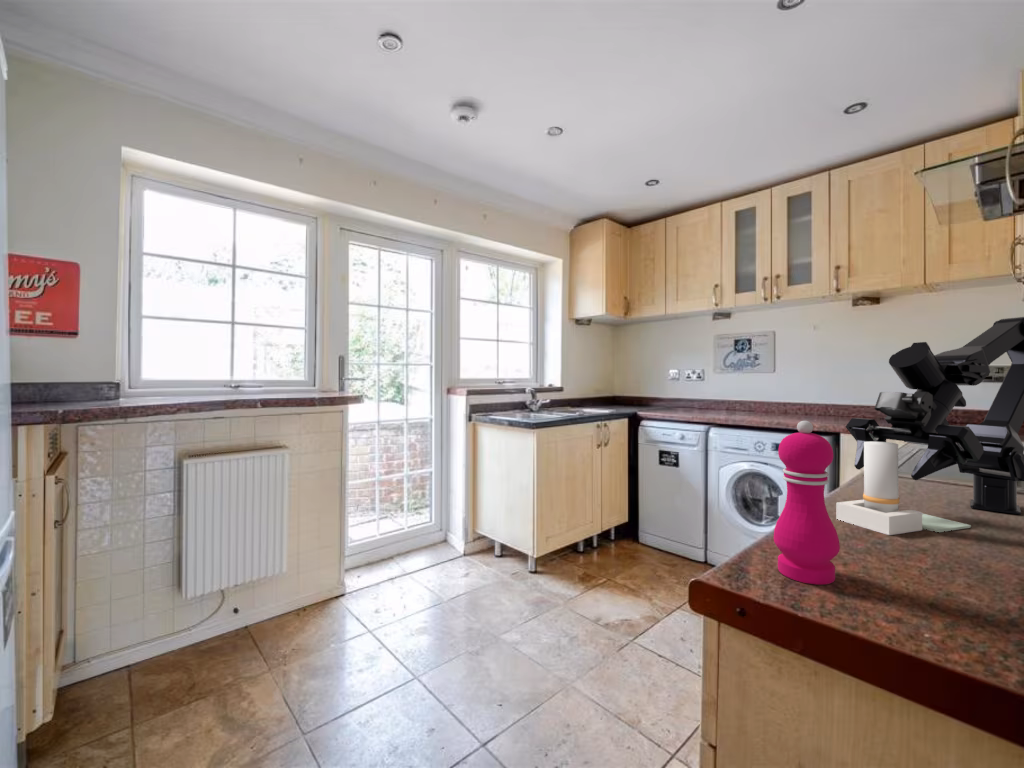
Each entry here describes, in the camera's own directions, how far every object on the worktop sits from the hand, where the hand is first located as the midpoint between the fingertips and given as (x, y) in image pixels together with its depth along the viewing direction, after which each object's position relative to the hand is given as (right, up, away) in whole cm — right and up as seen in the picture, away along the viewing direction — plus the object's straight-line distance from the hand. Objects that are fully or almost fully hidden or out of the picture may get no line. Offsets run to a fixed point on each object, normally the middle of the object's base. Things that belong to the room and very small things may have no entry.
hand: (883, 472), depth 79 cm
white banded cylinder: (0, -9, 0) cm, 9 cm away
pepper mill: (-26, -10, -20) cm, 34 cm away
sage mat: (+8, -9, 0) cm, 12 cm away
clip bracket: (0, -9, 0) cm, 9 cm away
